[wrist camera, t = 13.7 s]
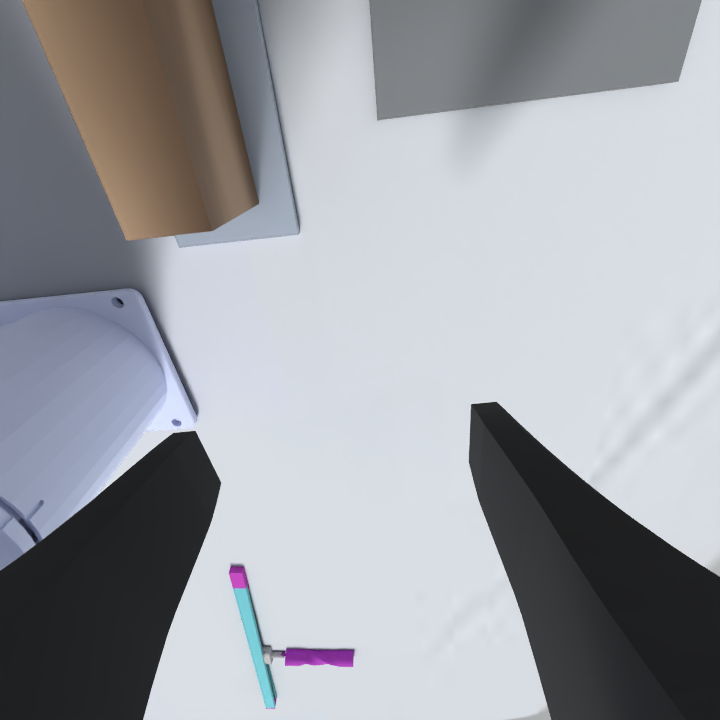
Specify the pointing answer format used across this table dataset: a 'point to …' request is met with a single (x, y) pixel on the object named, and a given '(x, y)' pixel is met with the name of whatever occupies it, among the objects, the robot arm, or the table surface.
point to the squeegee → (264, 653)
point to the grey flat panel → (253, 130)
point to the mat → (521, 50)
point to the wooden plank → (151, 109)
